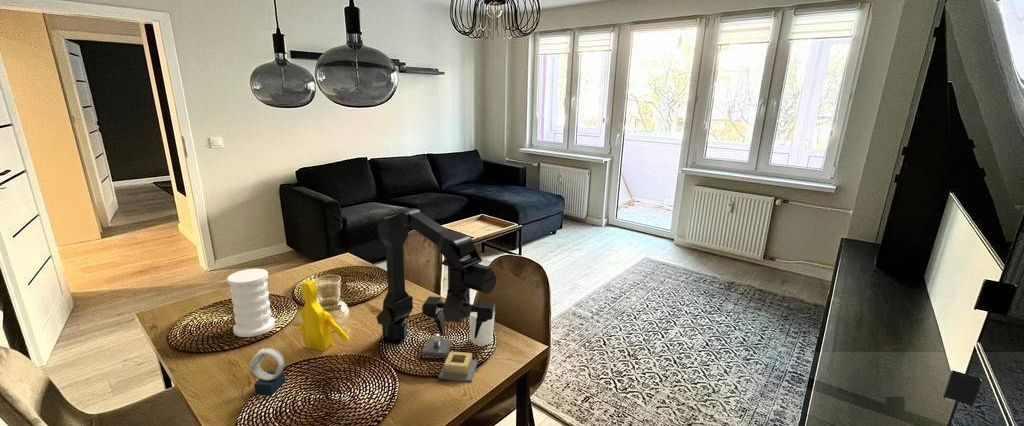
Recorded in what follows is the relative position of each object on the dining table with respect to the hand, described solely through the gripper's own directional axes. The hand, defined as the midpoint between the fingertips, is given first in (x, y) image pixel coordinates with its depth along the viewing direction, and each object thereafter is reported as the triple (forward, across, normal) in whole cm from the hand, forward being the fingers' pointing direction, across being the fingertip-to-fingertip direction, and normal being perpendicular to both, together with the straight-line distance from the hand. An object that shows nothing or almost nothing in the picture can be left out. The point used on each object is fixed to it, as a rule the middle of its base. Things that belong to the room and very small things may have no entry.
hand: (459, 336), depth 118 cm
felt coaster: (+11, 0, 0) cm, 11 cm away
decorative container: (+10, -70, +12) cm, 72 cm away
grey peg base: (+10, -9, +8) cm, 16 cm away
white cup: (+11, +3, +16) cm, 20 cm away
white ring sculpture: (+11, -46, -15) cm, 49 cm away
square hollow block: (+10, 0, 0) cm, 10 cm away
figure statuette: (+11, -44, +5) cm, 45 cm away
